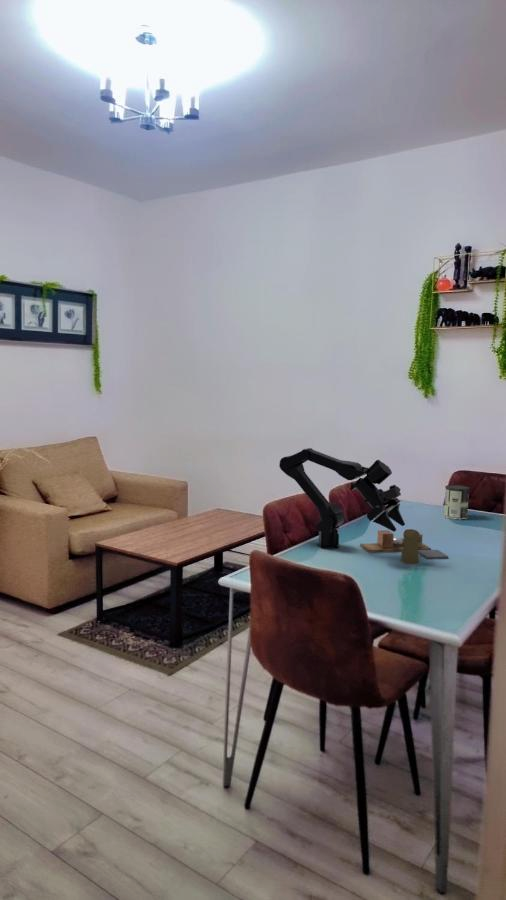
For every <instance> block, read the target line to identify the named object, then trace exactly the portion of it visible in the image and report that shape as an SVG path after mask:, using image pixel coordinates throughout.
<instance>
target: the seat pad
mask: <svg viewBox="0 0 506 900" xmlns="http://www.w3.org/2000/svg"><path fill="white" fill-rule="evenodd" d="M418 555H420V557H423V558H424V559H426V560H442V559H443V560H445V559H449V555H447V554H445V553H444V552H442V551H440V550H439V549H431V550H418Z"/></svg>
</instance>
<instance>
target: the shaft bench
mask: <svg viewBox="0 0 506 900" xmlns="http://www.w3.org/2000/svg"><path fill="white" fill-rule="evenodd" d="M423 535H424V534H423V533H420V532H419V539H418V540H417V543H418V550H432V548H431V547H430V546H428V545H426V544H425V543H424V542H423ZM403 546H404V545H393V547H388V548H382V547H381V546H380V545H378V544H377V542H375V543H360V544H359V547H360V548H361V547H362V548H361V549H363V550H364V551H365V552H366V553H369V554H371V553H373V554H374V553H377V554H378V553H402V551H403Z"/></svg>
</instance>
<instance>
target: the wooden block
mask: <svg viewBox="0 0 506 900" xmlns="http://www.w3.org/2000/svg"><path fill="white" fill-rule="evenodd" d="M394 535H395V534H394V533H393V531H392V532H391V530H390V529H387V530H381V529H380V530H377V539H376V540H377V541H376V543H377V544H378V545H380V546H381V547H382V548H388V547H393V545H404V541H405V538H404V537H402V538H401V537H400V538H399V537H394Z"/></svg>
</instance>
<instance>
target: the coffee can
mask: <svg viewBox="0 0 506 900" xmlns="http://www.w3.org/2000/svg"><path fill="white" fill-rule="evenodd" d="M444 487H445V494H444V509H443V510H444V511H443V513H444V514H443V517H444V518H445V517H446V519H448V518H450V519H449V520H454V519H459V520H458V521H462V520H461V519H465V520H467V519H468V514H469V513H468V512H469V511H468V510H469V500H470V499H469V496H470V487H468V486H465V485H460V484H459V485H458V484H448V485H445V486H444Z"/></svg>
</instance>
